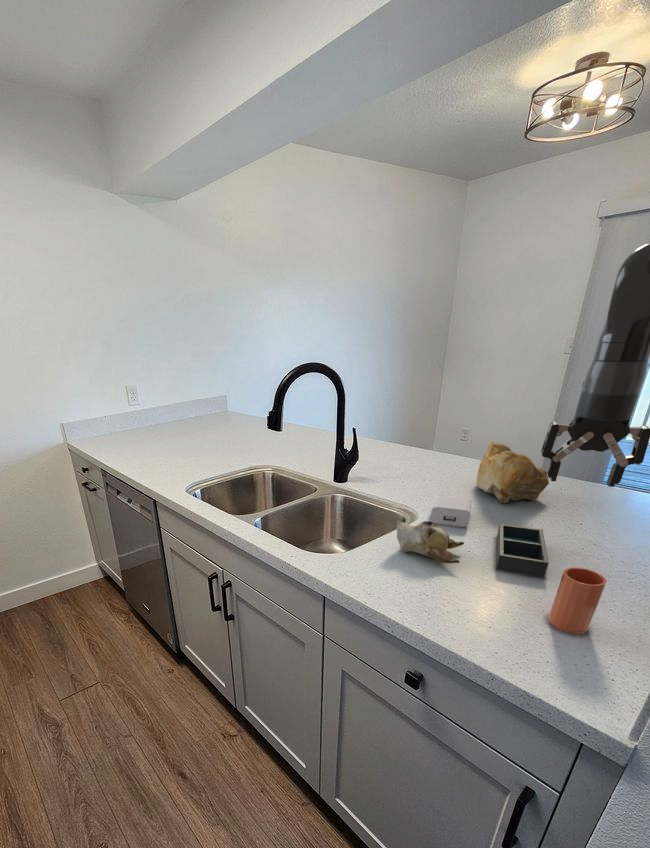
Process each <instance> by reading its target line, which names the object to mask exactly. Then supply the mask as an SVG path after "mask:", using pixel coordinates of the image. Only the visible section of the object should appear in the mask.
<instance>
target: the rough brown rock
mask: <svg viewBox="0 0 650 848" xmlns="http://www.w3.org/2000/svg"><path fill="white" fill-rule="evenodd" d="M547 472H548V471H547V470H545V469H544V468H540V467H538V466H536V465H535V463H534V462H533V460H532V459H531V458H529V457H528V456H527V455H526V454H519V453H516V452H515V451H512V449H511V448H510V446H507V445H505V444H504V443H501V442H494V441H491V442H489V443H488V446H487V448H486V450H485V452H484V455H483V457H482V459H481V460H480V463H479V467H478V470H477V475H476V487H477V488H478V489H480V490H482V491H483V492H484V493H486V494H491V495H495V497H496V499H497V500H498V501H499V502H500V503H501V504H506V503H509V501H511V502H513V501H519V500H528V501H536V500H537V499H538V498H539V497H540V494H541V493H542V492H544V490H545V489H546V488H547V487H548V486H549V484H550V480H549V479H550V478H548V474H547Z"/></svg>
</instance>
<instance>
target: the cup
mask: <svg viewBox="0 0 650 848" xmlns="http://www.w3.org/2000/svg"><path fill="white" fill-rule="evenodd" d="M606 585H607V579H606V577H605V576H604V575H602V574H600V573H599V572H597V571H594V570H591V569H588V568H583V567H568V568H565V570H563V571H562V575H561V578H560V581H559V583H558V588H557V591H556V593H555V597H554V599H553V602H552V605H551V609H550V612H549V615H548V622H549V623H550V624H551V625H552V626H553V627H554V628H557V630H560V631H561V632H565V633H568V634H574V635H580V634H582V635H583V634H585V633H587V631H588V630H589V628H590V625H591V623H592V621H593V618H594V616H595V612H596V610H597V608H598V605H599V602H600V600H601V597H602V594H603V593H604V589H605V588H606Z"/></svg>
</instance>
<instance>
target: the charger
mask: <svg viewBox="0 0 650 848" xmlns="http://www.w3.org/2000/svg"><path fill="white" fill-rule="evenodd" d="M471 513H472V500H471V499H470V498H467V497H460V496H458V495H457V496H455V495H437V496H435V498H434V501H433V504H432V508H431V513H430V520H429V521H431V522H432V524H439V525H445V526H452V527H462V528H464V527H468V526H469V523H470V519H471Z"/></svg>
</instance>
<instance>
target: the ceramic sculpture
mask: <svg viewBox="0 0 650 848" xmlns="http://www.w3.org/2000/svg"><path fill="white" fill-rule="evenodd" d="M396 539H397V542H398V544H399V548H400V551H401V552H402V553H407V552H410V551H411V552H415V553H417V554H420V555H423V556H426V557H429V558H432V560H435V561H436V562H438V563H441V564H459V563H461V562H460V560H459V559H457V558H456V557H455V556H454V555H453V554H452V552H451V551H449V550H450V549H455V548H458V547H461V546H463V545H464V544H465V542H464V541H456V540H454V539H452V538H450V535H449V533H448V532H447V530H446V529H445V528H444V527H442V526H438V525H436V524H433V522H432V521H431V520H428V521H427V520H424V521H421V522H419V523H418V524H417V525H412V524H409V523H408V522H404V521H401V520H398V521H397V522H396ZM447 549H449V550H447Z"/></svg>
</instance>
